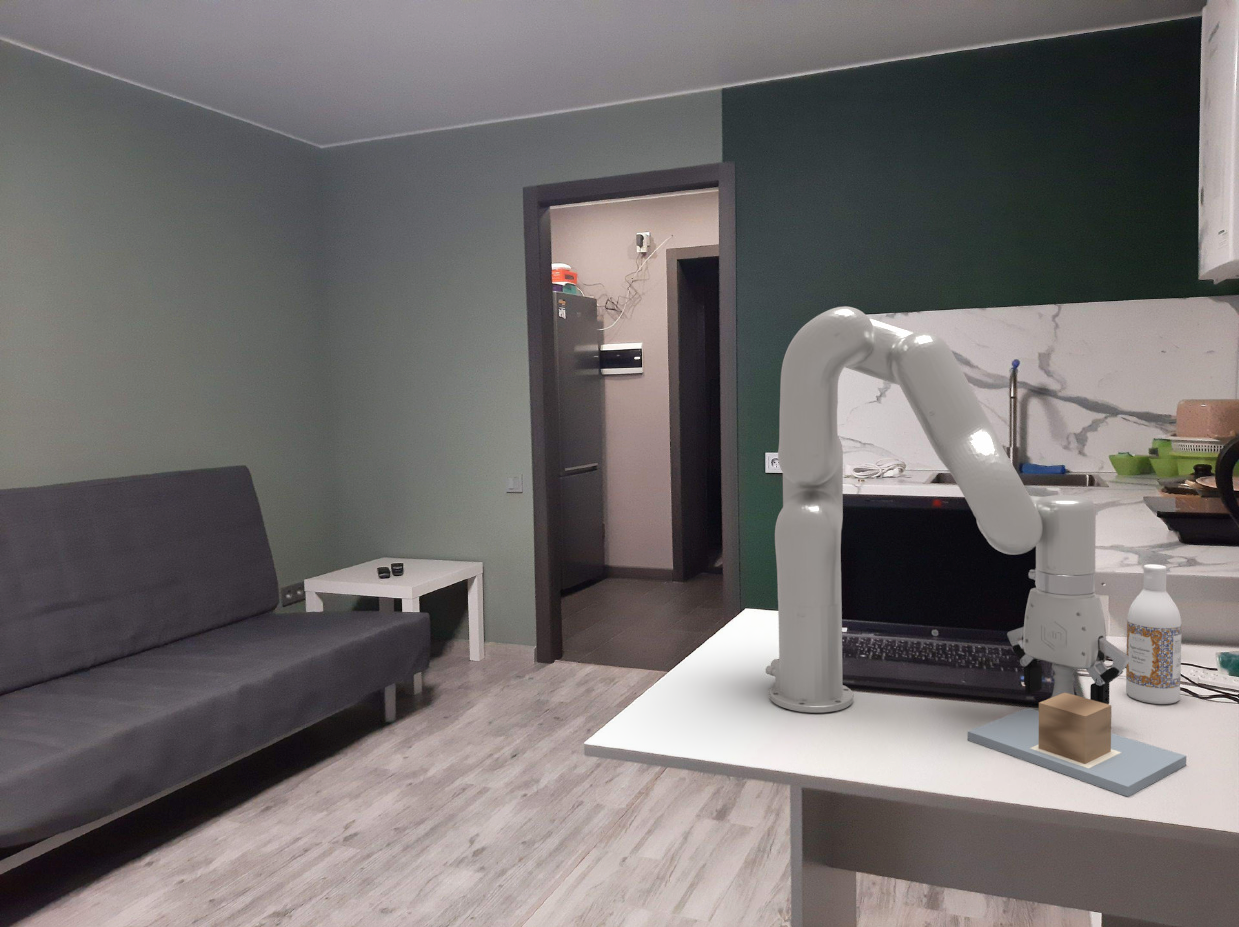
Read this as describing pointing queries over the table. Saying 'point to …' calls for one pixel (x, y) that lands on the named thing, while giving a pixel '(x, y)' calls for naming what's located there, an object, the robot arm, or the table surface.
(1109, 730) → the walnut cube
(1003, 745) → the build board
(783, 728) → the table surface
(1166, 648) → the bath foam
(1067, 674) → the rook chess piece
